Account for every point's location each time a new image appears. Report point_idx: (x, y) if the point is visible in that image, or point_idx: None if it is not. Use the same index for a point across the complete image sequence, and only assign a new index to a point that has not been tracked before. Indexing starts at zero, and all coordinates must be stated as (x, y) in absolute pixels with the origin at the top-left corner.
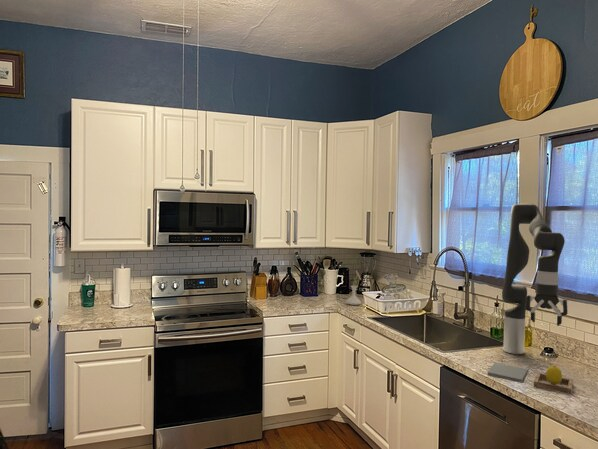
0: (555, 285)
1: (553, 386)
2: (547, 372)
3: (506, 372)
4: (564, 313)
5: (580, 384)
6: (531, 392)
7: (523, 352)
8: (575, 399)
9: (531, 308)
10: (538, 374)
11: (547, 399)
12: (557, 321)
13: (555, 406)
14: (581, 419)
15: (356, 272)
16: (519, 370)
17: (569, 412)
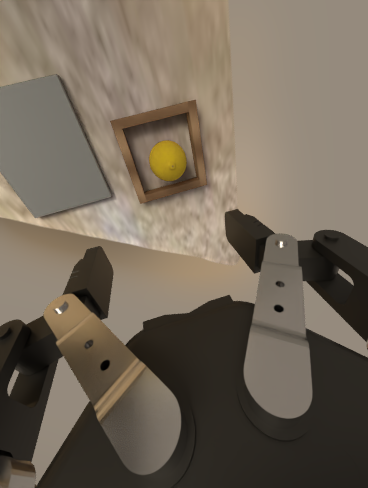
0: None
1: (175, 192)
2: (158, 177)
3: (55, 178)
4: (315, 284)
5: (205, 75)
6: (152, 233)
7: None
8: (213, 200)
9: (53, 341)
10: (121, 138)
11: (181, 239)
12: (238, 251)
13: (197, 253)
14: (229, 263)
15: None
16: (57, 123)
17: (215, 256)
